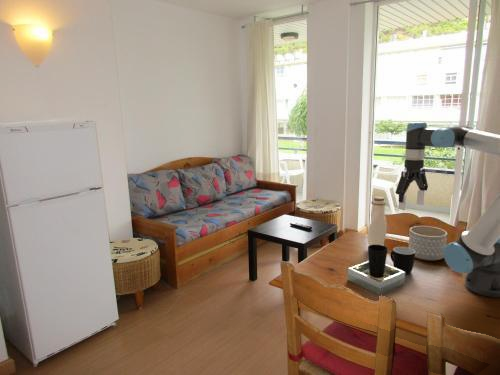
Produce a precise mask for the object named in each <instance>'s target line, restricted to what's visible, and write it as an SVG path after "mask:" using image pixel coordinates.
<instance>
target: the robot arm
mask: <svg viewBox="0 0 500 375" xmlns="http://www.w3.org/2000/svg"><path fill="white" fill-rule="evenodd" d="M405 133H406V134H405V135H406V136H405V154H404V155H405V156H404V157H405V159H404V168H405V169H406V171H403V170H402V171H401V173H400V174H401V175H400V177H399V182H398V183H397V187H396V190H395V194H396V195H398V207H397V208H398V210H401V211H405V210H406V200H407V195H406V193H407V191H408V190H409V187H410V185H411V184H412V183H413V182H414V181H415V183H416V185H417V187H418V189H417V196H416V197H417V198H416V204H417V205H420V206H423V205H424V203H425V202H424V201H425V200H424V199H425V191H428V189H429V184H428V181H427V176H426V169H425V168H424V166H425V165H424V164H425V160H424V159H425V155H426V154H425V153H426V152H425V149H426V147H432V148H433V147H434V148H439V149H440V148H441V149H443V148H449V147H450V146H451V147H453V146H457V147H458V146H459V147H463V148H466V149H470V150H473V151H477V152H481V153H485V154H489V155H493V156H497V157H500V134H496V133H491V132H488V131H485V130H484V131H483V130H480V129H479V130H478V129H474V128H473V127H471V126H466V125H460V126H449V127H428V125H427V122H425V121H419V122H418V121H416V122H415V121H413V122H409V123H408V124H407V127H406V132H405ZM444 261H445V262H446V265H447V266H448V267H449V269H451V270H452V271H453V272H456V273H459V274H467V275H466V277H465V279H464V286H465V288H467V289H468V290H469V291H471V292H473V293H475V294H478V295H480V296H485V297H490V298H500V192H499V193H498V194H497V196H496V197H495V198H494V200H493V201H492V202H491V203H490V205H489V206H488V207H487V209H485V211H484V212H483V213H482V214H481V216H480V217H479V219H478V220H477V221H476V222H475V224H474V225H473V226H472V228H470V229H469V230H464V231H463V232H462V233H461V234H460V235H459V236H458V238H457V239H456V240H455V241H451V242H449V243H447V244H446V246H445V248H444Z"/></svg>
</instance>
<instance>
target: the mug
mask: <svg viewBox="0 0 500 375" xmlns="http://www.w3.org/2000/svg"><path fill="white" fill-rule="evenodd" d="M389 256H390V260H391V261H392V264H393V267H394V268H397V269H399V270H402V271H405V276H407V275H410V274H411V273H412V271H413V268H414V264H415V258H416V257H415V251H414V250H413V249H411V248H408V247H407V246H396V247H394V248H393V249H392V250H391V252H390V255H389Z"/></svg>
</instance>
